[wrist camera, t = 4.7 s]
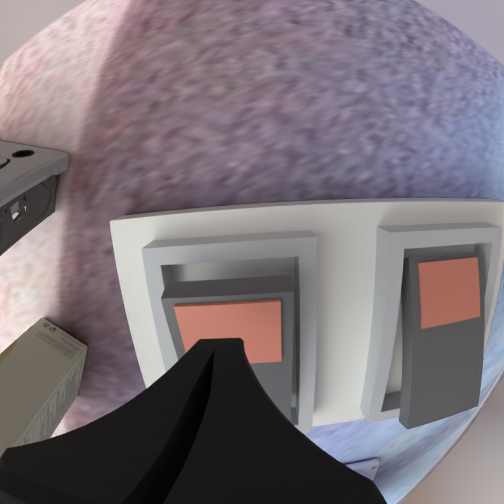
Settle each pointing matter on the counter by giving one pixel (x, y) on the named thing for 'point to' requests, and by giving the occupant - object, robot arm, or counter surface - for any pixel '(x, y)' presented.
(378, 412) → the breaker panel
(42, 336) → the skincare box
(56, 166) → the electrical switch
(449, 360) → the rocker
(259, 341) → the rocker
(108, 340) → the counter surface
